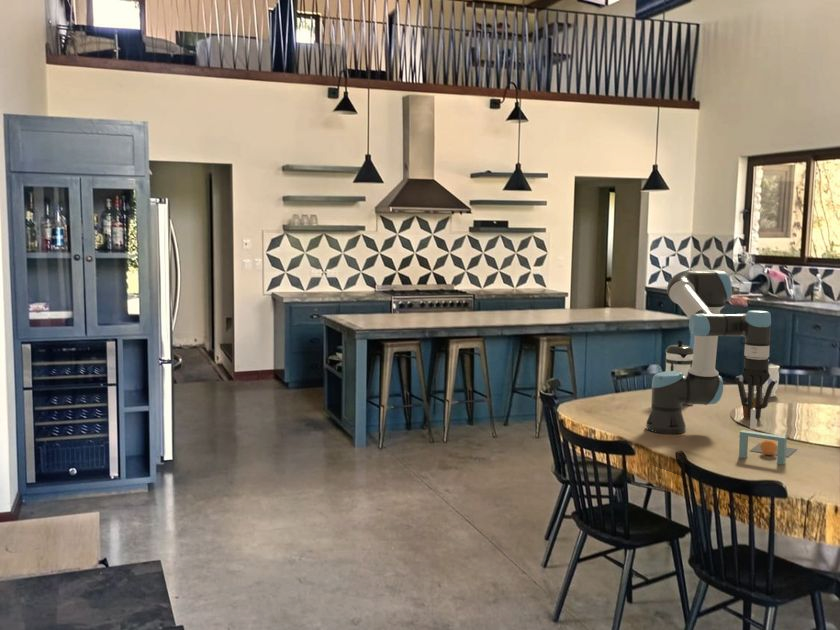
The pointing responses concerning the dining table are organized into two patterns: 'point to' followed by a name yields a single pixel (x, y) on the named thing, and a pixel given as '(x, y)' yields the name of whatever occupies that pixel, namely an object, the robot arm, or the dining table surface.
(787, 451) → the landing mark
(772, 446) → the ball
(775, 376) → the jar
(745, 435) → the bridge
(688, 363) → the coffee press
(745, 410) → the disposable coffee cup
